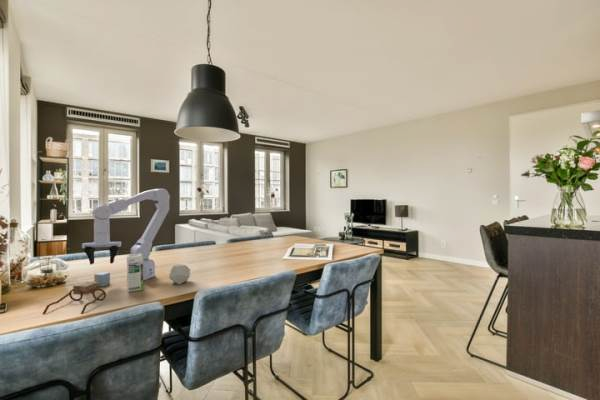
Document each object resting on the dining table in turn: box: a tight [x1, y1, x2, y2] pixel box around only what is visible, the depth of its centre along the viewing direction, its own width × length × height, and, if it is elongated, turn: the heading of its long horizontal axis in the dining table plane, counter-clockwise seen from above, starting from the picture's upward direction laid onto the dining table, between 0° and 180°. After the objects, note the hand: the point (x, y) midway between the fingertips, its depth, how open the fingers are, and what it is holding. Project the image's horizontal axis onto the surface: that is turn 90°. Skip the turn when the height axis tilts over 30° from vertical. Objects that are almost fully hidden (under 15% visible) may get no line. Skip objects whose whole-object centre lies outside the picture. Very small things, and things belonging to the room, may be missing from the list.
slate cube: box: [93, 271, 111, 287], centre depth 128 cm, size 4×4×5 cm
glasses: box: [42, 288, 107, 315], centre depth 103 cm, size 13×13×5 cm
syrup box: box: [126, 254, 144, 293], centre depth 122 cm, size 6×6×14 cm
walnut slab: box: [72, 280, 100, 294], centre depth 120 cm, size 6×6×3 cm
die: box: [168, 263, 191, 285], centre depth 131 cm, size 8×9×10 cm
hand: (102, 263), depth 128 cm, fingers open, 7 cm apart
